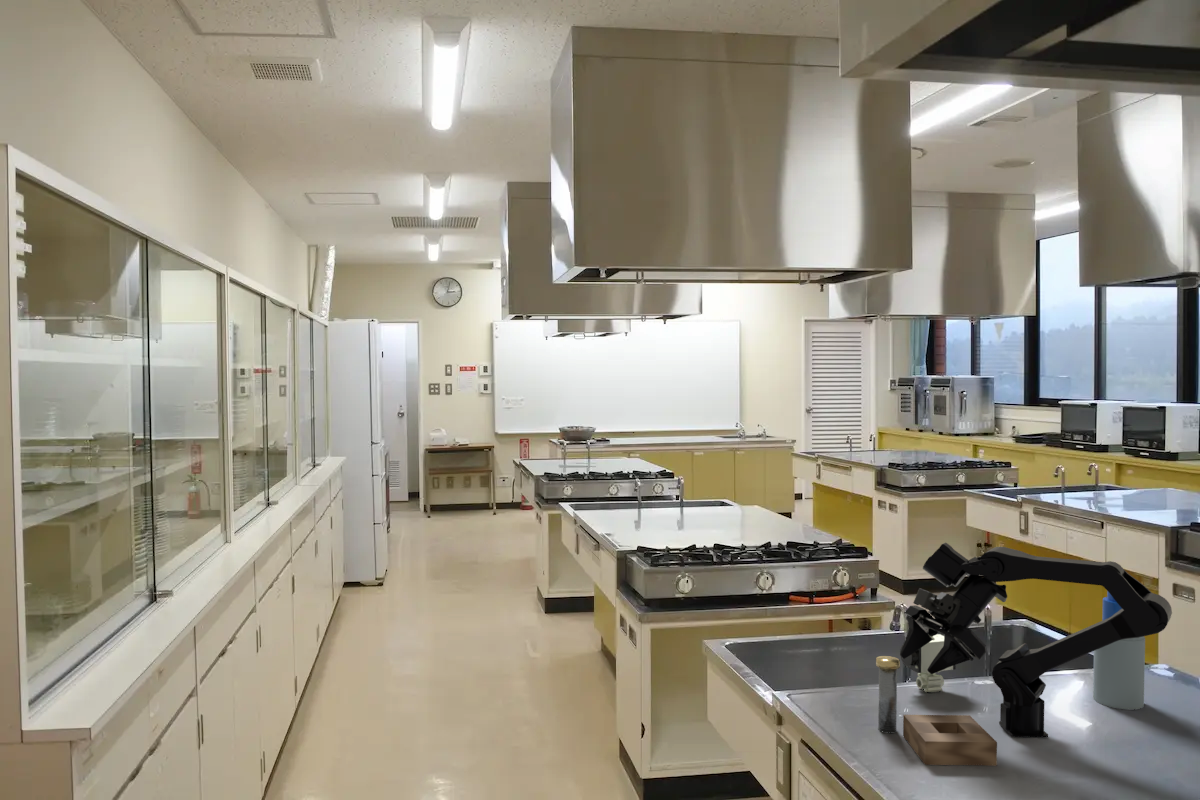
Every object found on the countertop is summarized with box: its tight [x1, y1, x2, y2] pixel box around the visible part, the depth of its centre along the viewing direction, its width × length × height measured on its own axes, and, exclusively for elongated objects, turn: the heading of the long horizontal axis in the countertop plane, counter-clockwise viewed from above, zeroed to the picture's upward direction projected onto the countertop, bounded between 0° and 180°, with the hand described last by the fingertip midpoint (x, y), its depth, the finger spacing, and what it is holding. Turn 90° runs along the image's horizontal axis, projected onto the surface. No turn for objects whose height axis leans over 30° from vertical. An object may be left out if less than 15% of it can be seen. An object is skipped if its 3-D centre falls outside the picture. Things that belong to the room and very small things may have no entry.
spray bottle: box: [1092, 590, 1146, 711], centre depth 182 cm, size 9×9×25 cm
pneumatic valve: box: [899, 633, 957, 693], centre depth 189 cm, size 6×12×12 cm, turn 105°
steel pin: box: [875, 655, 901, 734], centre depth 167 cm, size 4×4×13 cm
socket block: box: [902, 714, 998, 767], centre depth 158 cm, size 12×12×4 cm
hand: (915, 664), depth 169 cm, fingers open, 9 cm apart
